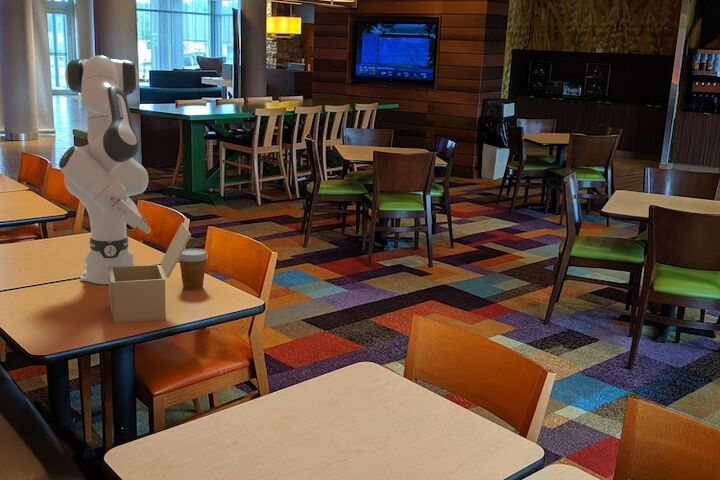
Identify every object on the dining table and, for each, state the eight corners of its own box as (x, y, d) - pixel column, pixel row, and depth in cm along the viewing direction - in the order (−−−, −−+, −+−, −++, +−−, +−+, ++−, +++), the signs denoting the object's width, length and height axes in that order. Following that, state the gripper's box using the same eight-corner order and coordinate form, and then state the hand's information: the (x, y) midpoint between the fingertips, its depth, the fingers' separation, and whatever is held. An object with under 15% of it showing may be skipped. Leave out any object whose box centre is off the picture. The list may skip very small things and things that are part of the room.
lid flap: (181, 222, 226) (183, 223, 227) (160, 263, 227) (162, 264, 227) (189, 234, 212) (191, 235, 212) (166, 277, 213) (168, 278, 213)
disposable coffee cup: (193, 281, 252) (193, 246, 250) (213, 287, 247) (213, 251, 244) (171, 287, 245) (171, 251, 242) (192, 293, 239) (191, 257, 237)
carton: (109, 305, 225) (108, 267, 222) (159, 302, 230) (158, 264, 227) (112, 323, 210) (110, 282, 207) (165, 319, 215) (165, 279, 213)
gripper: (121, 194, 200) (159, 228, 206) (116, 181, 219) (151, 212, 225) (104, 210, 200) (143, 244, 206) (100, 196, 218) (136, 227, 224)
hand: (147, 227), depth 215 cm, fingers open, 8 cm apart
